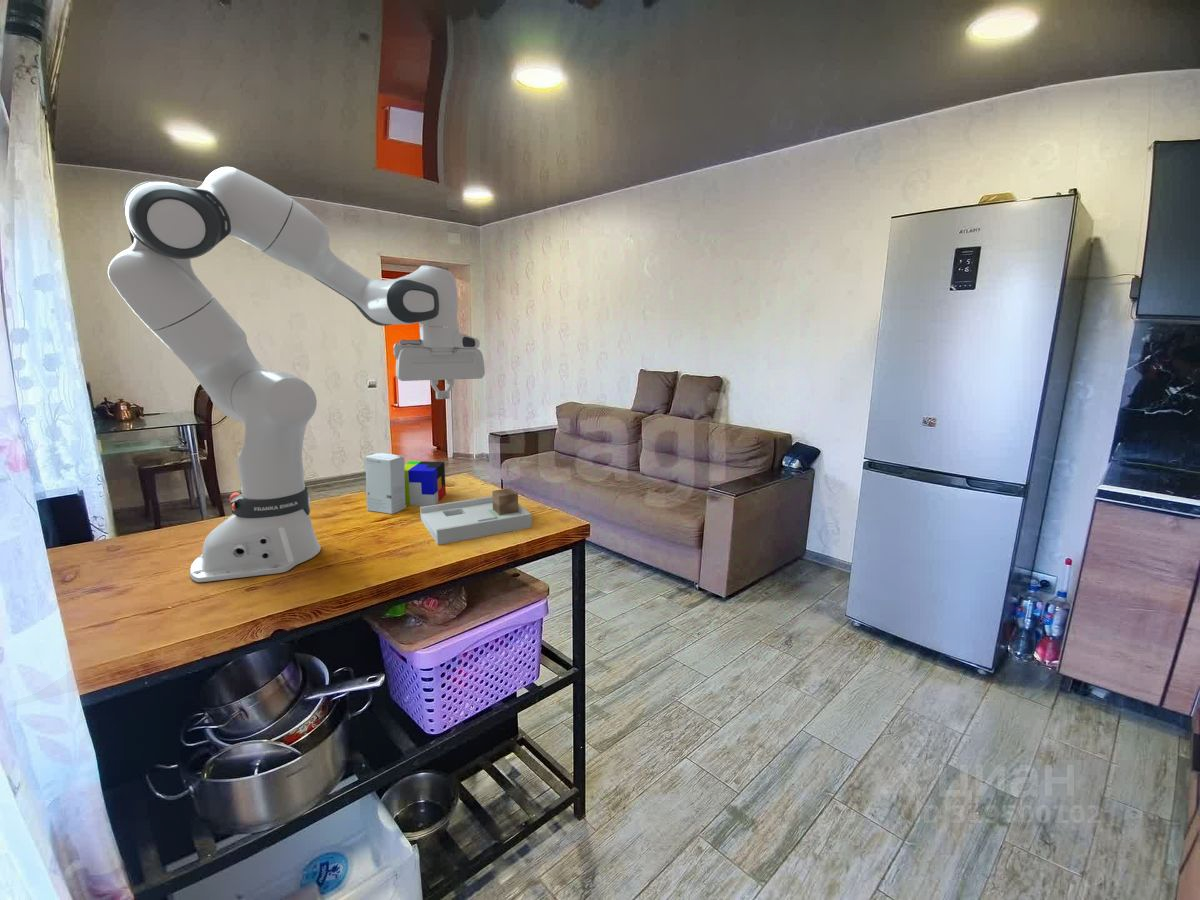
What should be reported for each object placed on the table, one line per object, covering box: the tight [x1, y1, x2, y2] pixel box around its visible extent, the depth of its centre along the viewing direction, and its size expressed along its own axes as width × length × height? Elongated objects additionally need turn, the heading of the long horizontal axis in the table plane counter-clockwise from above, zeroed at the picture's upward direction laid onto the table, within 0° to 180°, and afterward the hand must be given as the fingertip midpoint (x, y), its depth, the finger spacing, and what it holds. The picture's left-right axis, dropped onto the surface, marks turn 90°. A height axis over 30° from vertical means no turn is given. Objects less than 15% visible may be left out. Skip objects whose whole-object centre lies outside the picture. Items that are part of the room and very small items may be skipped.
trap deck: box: [419, 496, 533, 545], centre depth 129 cm, size 23×18×4 cm
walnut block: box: [491, 487, 519, 515], centre depth 132 cm, size 5×5×5 cm
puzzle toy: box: [404, 460, 447, 507], centre depth 145 cm, size 10×10×10 cm
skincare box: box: [364, 452, 406, 515], centre depth 136 cm, size 8×6×15 cm
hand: (442, 398), depth 123 cm, fingers closed
